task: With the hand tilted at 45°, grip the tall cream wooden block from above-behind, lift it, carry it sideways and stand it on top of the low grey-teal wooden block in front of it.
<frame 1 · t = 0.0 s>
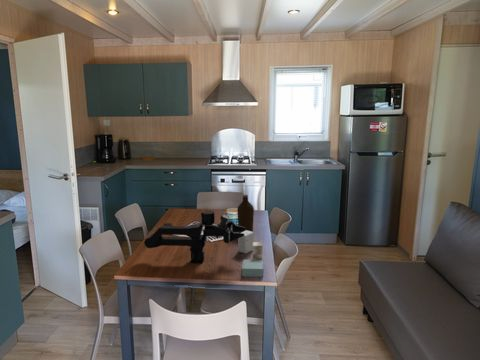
hand: (244, 231, 176), 17 cm above the table, tool horizontal, fingers open, 9 cm apart
base block: (253, 271, 167), on the table
cream block: (257, 261, 178), on the table
olive oil: (245, 232, 223), on the table
small box: (246, 250, 194), on the table
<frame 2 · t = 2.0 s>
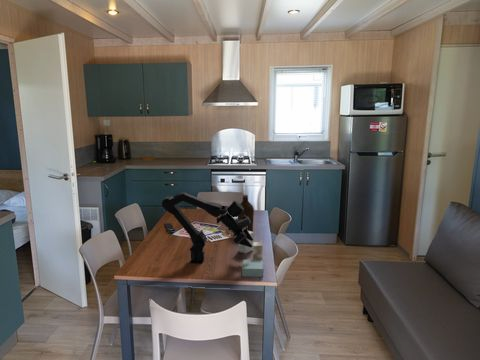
hand: (252, 243, 177), 10 cm above the table, tool tilted 45°, fingers open, 9 cm apart
nothing on the table moved.
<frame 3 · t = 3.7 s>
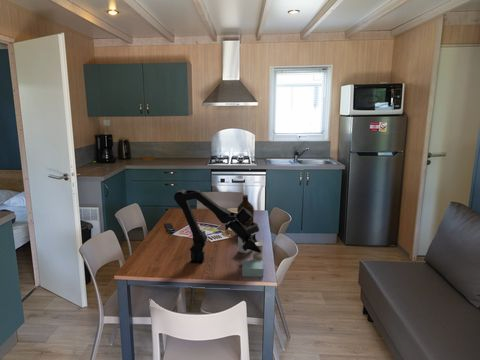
hand: (260, 250, 177), 7 cm above the table, tool tilted 45°, fingers closed on cream block, 5 cm apart
cream block: (257, 261, 178), on the table, touching gripper
everything else where it was.
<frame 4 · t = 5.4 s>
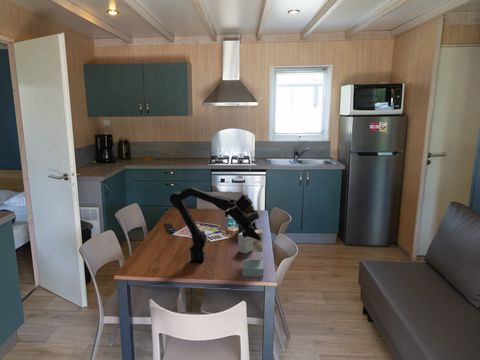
hand: (260, 237, 175), 13 cm above the table, tool tilted 45°, fingers closed on cream block, 5 cm apart
cream block: (257, 249, 177), point 7 cm above the table, touching gripper
everything else where it was.
when the fingers open (12 cm above the table, at t = 7.4 s): cream block drops 1 cm, resting on base block.
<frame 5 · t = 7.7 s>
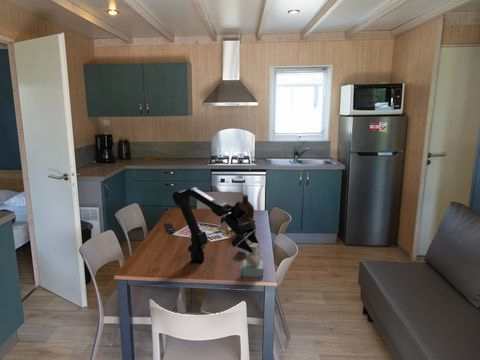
hand: (255, 249, 164), 12 cm above the table, tool tilted 45°, fingers open, 8 cm apart
cream block: (253, 264, 167), point 4 cm above the table, touching base block
everything else where it was.
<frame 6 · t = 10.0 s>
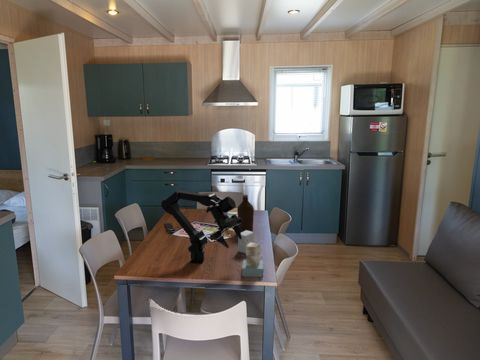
hand: (234, 243, 171), 12 cm above the table, tool tilted 30°, fingers open, 9 cm apart
nothing on the table moved.
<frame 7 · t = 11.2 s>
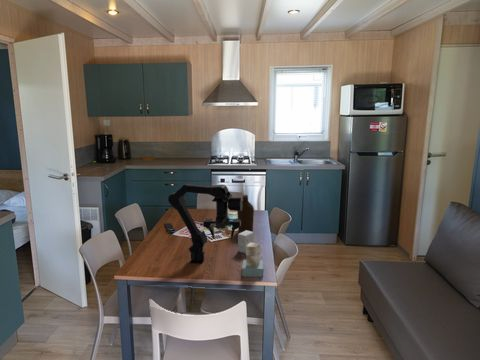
hand: (222, 239, 175), 13 cm above the table, tool pointing down, fingers open, 9 cm apart
nothing on the table moved.
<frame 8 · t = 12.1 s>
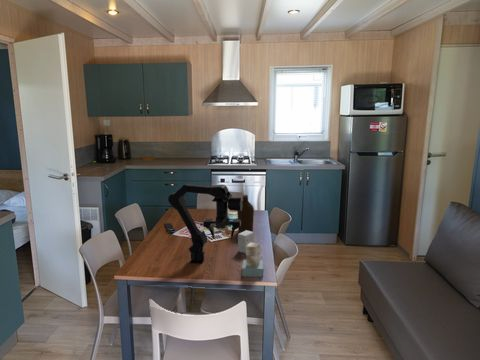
hand: (222, 239, 175), 13 cm above the table, tool pointing down, fingers open, 9 cm apart
nothing on the table moved.
at the end: cream block inside the target area on the base block (0.0 cm from its centre), point 4.0 cm above the base block's base; cream block tilted 0°; cream block touching base block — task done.
